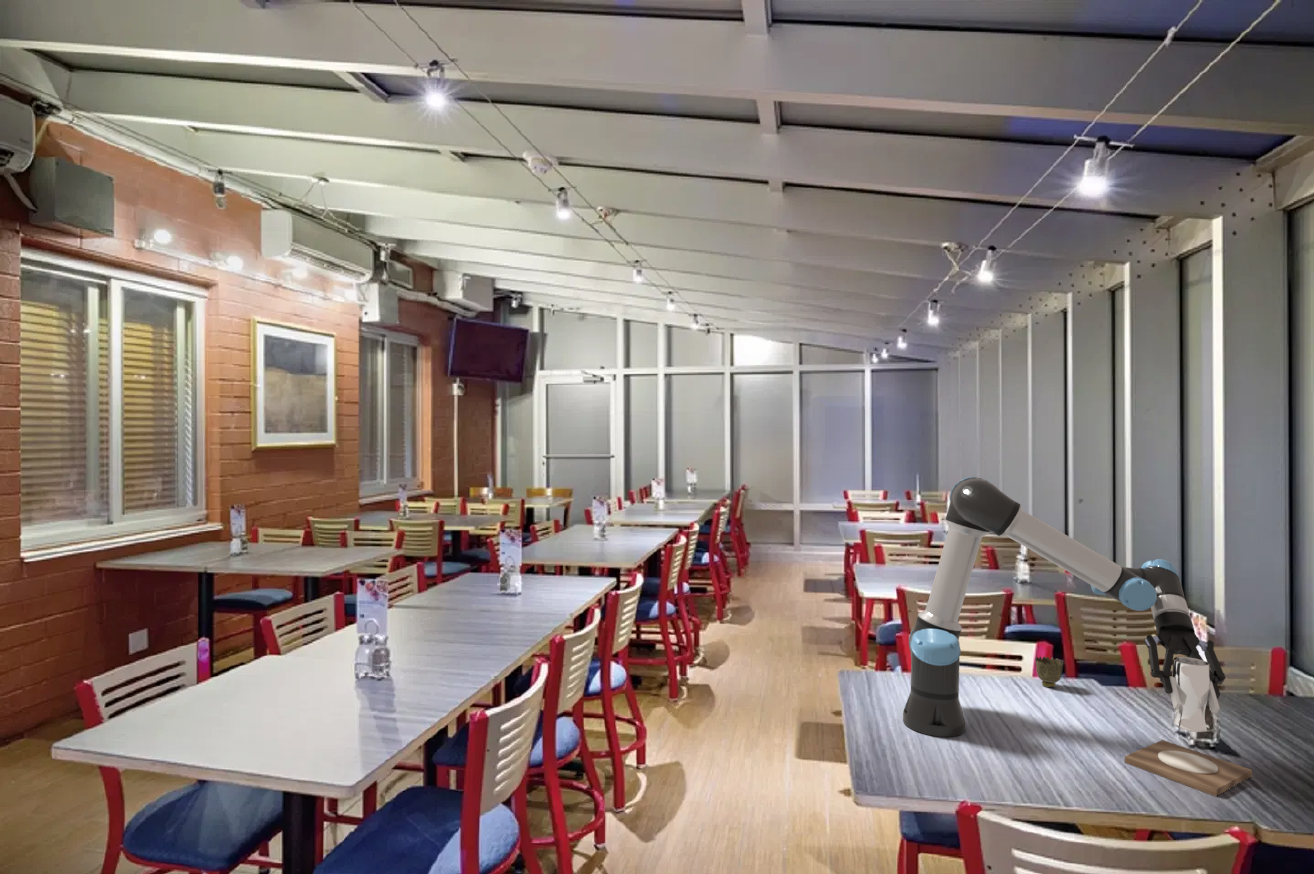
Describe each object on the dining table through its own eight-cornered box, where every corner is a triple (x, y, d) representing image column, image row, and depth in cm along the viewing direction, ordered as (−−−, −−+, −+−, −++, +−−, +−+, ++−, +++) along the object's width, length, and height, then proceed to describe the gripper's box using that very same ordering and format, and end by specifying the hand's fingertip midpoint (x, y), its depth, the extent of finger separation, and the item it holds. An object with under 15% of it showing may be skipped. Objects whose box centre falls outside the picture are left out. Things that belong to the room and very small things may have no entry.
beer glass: (1202, 723, 167) (1203, 658, 167) (1214, 735, 161) (1215, 667, 161) (1166, 718, 170) (1168, 654, 170) (1177, 730, 163) (1178, 663, 163)
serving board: (1216, 796, 153) (1216, 787, 153) (1124, 762, 168) (1124, 754, 168) (1252, 776, 162) (1252, 768, 162) (1162, 746, 178) (1162, 738, 178)
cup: (1066, 691, 215) (1067, 664, 215) (1039, 689, 216) (1039, 662, 216) (1057, 683, 222) (1058, 657, 222) (1031, 681, 223) (1032, 655, 223)
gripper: (1214, 630, 177) (1243, 722, 161) (1122, 622, 183) (1141, 710, 167) (1224, 613, 172) (1255, 707, 156) (1129, 606, 178) (1150, 695, 162)
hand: (1196, 708), depth 162 cm, fingers closed on beer glass, 6 cm apart
